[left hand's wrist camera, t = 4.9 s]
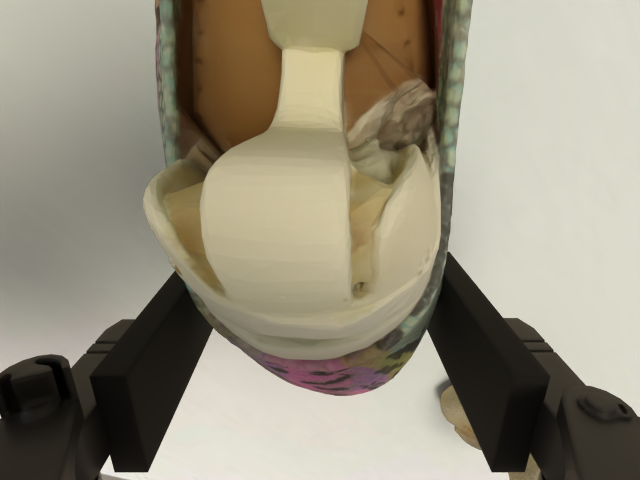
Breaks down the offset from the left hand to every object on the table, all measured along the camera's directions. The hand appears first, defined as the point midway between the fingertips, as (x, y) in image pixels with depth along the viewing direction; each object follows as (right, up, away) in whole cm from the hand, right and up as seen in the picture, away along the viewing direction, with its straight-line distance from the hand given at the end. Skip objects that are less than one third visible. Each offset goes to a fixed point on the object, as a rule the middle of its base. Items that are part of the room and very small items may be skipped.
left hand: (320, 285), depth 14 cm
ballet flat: (0, +8, -2) cm, 8 cm away
